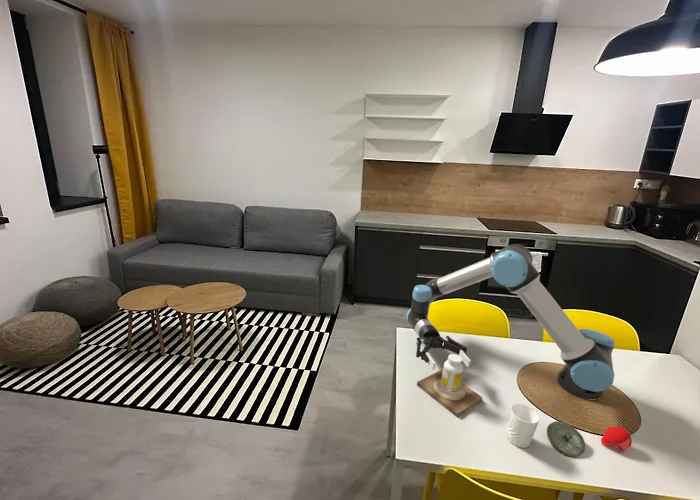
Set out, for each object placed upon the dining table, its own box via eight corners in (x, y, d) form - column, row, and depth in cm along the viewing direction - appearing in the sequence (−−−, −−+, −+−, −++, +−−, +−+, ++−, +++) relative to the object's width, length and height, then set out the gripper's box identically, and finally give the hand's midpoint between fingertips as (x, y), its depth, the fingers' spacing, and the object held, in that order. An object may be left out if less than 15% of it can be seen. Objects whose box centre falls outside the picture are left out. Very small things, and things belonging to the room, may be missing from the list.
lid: (576, 435, 111) (580, 422, 110) (589, 461, 102) (594, 448, 101) (540, 427, 113) (544, 415, 112) (550, 453, 104) (555, 440, 102)
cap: (622, 428, 111) (608, 417, 111) (639, 438, 105) (623, 426, 105) (608, 449, 111) (593, 438, 111) (624, 460, 105) (608, 448, 105)
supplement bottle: (460, 386, 127) (466, 356, 123) (457, 397, 121) (464, 366, 117) (441, 379, 129) (447, 350, 125) (438, 390, 124) (443, 359, 120)
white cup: (535, 452, 104) (543, 425, 101) (507, 446, 105) (514, 420, 102) (527, 431, 111) (535, 406, 108) (501, 426, 113) (508, 401, 109)
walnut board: (481, 400, 123) (482, 396, 123) (457, 417, 115) (458, 412, 114) (441, 372, 137) (442, 368, 136) (416, 385, 128) (417, 381, 128)
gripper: (453, 339, 146) (481, 371, 127) (397, 342, 141) (417, 377, 121) (456, 323, 144) (485, 354, 124) (399, 326, 139) (420, 358, 119)
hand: (451, 365), depth 123 cm, fingers open, 13 cm apart
